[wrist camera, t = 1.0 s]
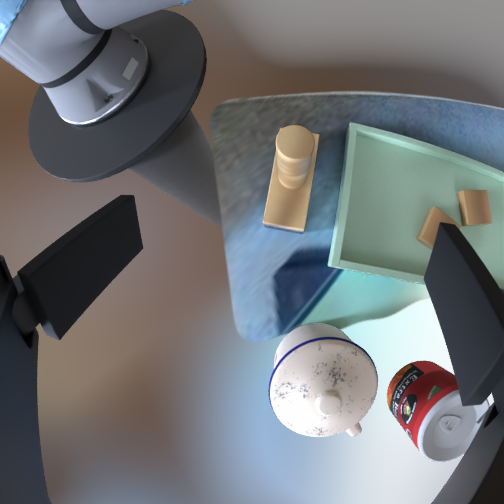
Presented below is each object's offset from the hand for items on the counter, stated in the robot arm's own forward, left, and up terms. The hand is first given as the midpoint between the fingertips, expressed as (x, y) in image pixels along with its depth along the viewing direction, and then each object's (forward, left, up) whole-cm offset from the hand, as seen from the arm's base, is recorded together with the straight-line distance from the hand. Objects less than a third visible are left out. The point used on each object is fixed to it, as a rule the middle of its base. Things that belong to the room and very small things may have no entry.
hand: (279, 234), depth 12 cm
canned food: (+19, -12, -20) cm, 30 cm away
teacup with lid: (+7, -11, -20) cm, 24 cm away
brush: (0, +8, -20) cm, 21 cm away
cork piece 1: (+17, +6, -19) cm, 26 cm away
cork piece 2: (+22, +10, -19) cm, 30 cm away
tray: (+18, +8, -20) cm, 28 cm away
